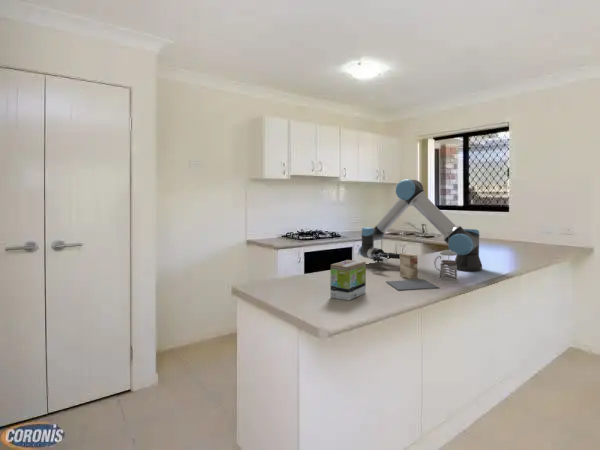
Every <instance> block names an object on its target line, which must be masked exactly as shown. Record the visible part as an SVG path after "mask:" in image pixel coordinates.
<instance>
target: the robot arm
mask: <svg viewBox="0 0 600 450" xmlns="http://www.w3.org/2000/svg"><path fill="white" fill-rule="evenodd" d="M395 187H396V188H395V195H396V196H397V198H399V199H398V200H397V201H396V202H395V203H394V204H393V205H392V206H391V208H390V209H389V210H388V211H387V212H386V214H385V215H384V216H383V217H382V218H381V219H380V221H379V222H378V223H377V224H376V225H375V226H374V227H371V226H370V227H369V226H368V227H366V226H364V227H362V228H361V246H360V247H359V249H358V254H359V255H360V256H361V257H362V258H365V259H366V258H367V259H368V260H372V261H373V262H376V263H384V264H388V263H389V262H388V260H390V259H396V260H400V254H402V253H403V252H402V253H396V252H395V253H394V252H385V251H384V250H383V249H381V248H378V247H374V246H375V243H374V242H375V241H379V240H381V239H383V238H384V236H385V234H386V233H387V231H388V230H389V229H390V228H391V227H392V226H393V224H395V222H396V221H397V220H398V219H400V217H401V216H402V215H403V213H404V212H405V211H407V210H408V208H409V207H414V208H415V209H416V210H417V211H418V212H419V213H420V214H421V215H422V216H423V217H424V218H425V219H426V220H427V221H428V222H429V223H430V224H431V225H432V227H434V229H436V230H437V231H438V232H439V233H440V234H441V236H443V241H444V243H446V244H447V245H448V248H449V250H450V251H454V252H456V253H457V255H455V259H454V261H456V263H454V264H457V271H463V272H478V271H479V272H480V271H482V270H483V265H482V261H481V258H480V236H481V235H480V230H478V229H475V228H463V227H462V226H461V225H456V224H455V223H453V221H452V220H450V218H449V217H448V216H446V214H444V213H443V212H442V210H441V209H439V208H438V207H437V206H436V205H435V203H433V202H432V201H431V200H430V199H429V198H428V197H427V196H426V191H425V190H424V186H423V184H422V183H421V182H420V181H419V180H417V179H410V178H406V179H403V180H400V181H399V182H398V183H397V184H396V186H395ZM448 231H450V232H451V234H447V232H448Z"/></svg>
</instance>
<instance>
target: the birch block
mask: <svg viewBox="0 0 600 450" xmlns="http://www.w3.org/2000/svg"><path fill="white" fill-rule="evenodd" d="M399 254H400V259H399V276H400V277H404V278H407V279H415V278H417V279H418V261H419V260H418V254H414V253H410V252H402V254H401V253H399Z"/></svg>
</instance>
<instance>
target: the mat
mask: <svg viewBox="0 0 600 450" xmlns="http://www.w3.org/2000/svg"><path fill="white" fill-rule="evenodd" d="M385 283H386V284H388V285H389V286H391V287H393V288H394V289H395V290H396V291H413V290H414V291H415V290H431V289H432V290H433V289H440V287H439V286H438V285H437V284H434V283H432V282H430V281H428V280H426V279H424V278H423V279H409V280H407V279H406V280H405V279H404V280H387V281H385Z"/></svg>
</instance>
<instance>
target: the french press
mask: <svg viewBox="0 0 600 450" xmlns="http://www.w3.org/2000/svg"><path fill="white" fill-rule="evenodd" d="M447 234H451V232H450V231H448V232H447ZM447 248H448V250H443V251H441V252H440V253H439V254H440V255H438V256H437V257H436V258H435V259H434V261H433V262H434V268H436V269H437V271H439V278H438V281H439V282H441V283H451V284H452V283H453V284H454V283H458V282H460V281H459V279H458V273H457V272H458V270H457V264H454V263H456V261H455V260H452V259H450V256H452V257H453V256H457V253H456V252H454V251H451V250H450V249H449V247H447ZM442 256H448V259H443V260H442ZM438 259H440V260H441V263H440V269H439V268H438V266H436V263H437V262H436V261H437V260H438Z"/></svg>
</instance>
